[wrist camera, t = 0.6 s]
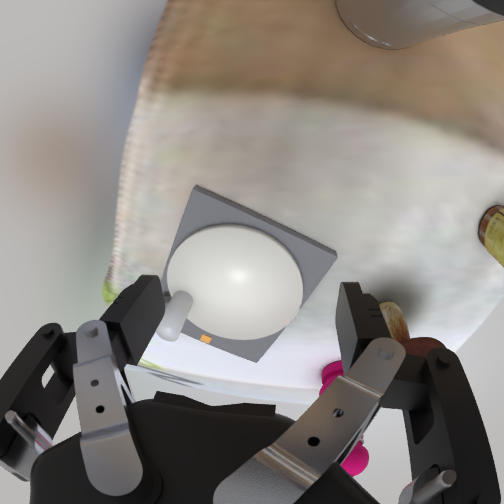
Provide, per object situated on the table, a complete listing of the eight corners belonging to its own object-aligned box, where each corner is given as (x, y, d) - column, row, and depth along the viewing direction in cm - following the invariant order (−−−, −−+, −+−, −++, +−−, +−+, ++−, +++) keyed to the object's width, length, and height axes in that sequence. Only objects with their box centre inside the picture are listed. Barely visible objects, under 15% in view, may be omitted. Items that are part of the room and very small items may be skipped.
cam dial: (286, 210, 29) (285, 244, 22) (312, 325, 36) (313, 369, 30) (138, 243, 33) (108, 276, 27) (187, 338, 40) (172, 376, 34)
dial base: (196, 185, 30) (192, 189, 29) (336, 251, 32) (337, 257, 31) (153, 312, 40) (150, 318, 39) (257, 356, 42) (256, 363, 41)
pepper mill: (345, 351, 40) (356, 477, 23) (370, 370, 42) (384, 482, 24) (309, 372, 43) (306, 489, 26) (336, 388, 45) (339, 494, 28)
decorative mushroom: (427, 315, 35) (461, 401, 22) (360, 346, 39) (374, 436, 26) (408, 259, 31) (456, 353, 18) (330, 298, 35) (341, 401, 22)
